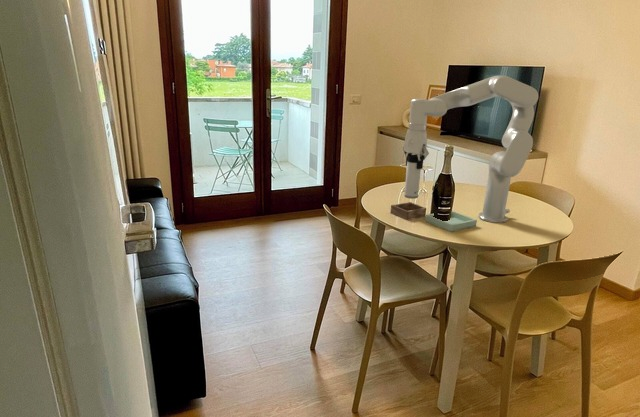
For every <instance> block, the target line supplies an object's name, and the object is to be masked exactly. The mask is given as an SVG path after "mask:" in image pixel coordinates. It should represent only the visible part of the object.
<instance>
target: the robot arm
mask: <svg viewBox="0 0 640 417" xmlns="http://www.w3.org/2000/svg"><path fill="white" fill-rule="evenodd" d="M496 97H498V98H499V97H500V98H501V99H503V100H506V101H507V102H509V104H510V106H511V108H512V114H511V118H510V121H509V123H508V125H507V127H506V130H505V132H504V133H503V135H502V138H501V144H502V146H503V148H505V149H506V150H505V151H504V150H503V151H502V150H500V151H497V152H494V153H492V155H491V156H490V158H489V162H488V176H487V177H488V178H487V184H486V190H485V195H484V200H483V202H484V203H483V208H482V212H479V213H478V218H479V219H480V220H482V221H485V222H489V223H495V224H496V223H497V224H502V223H507V221H508V217H507V216H506V214H509V213H510V212H511V210H510V208H507V202H508V198H509V190H510V186H511V178H513V177H515V176H517V175H519V174H520V172H521V170H522V169H523V168H524V165H525V163H526V162H527V159H528V158H529V155H530V153H531V151H532V148H533V147H534V146H533V145H534V138H533V136H532V135H531V134H530V133H529V130H530V127H531V126H532V123H533V120H534V115H535V109H534V106H535V105H536V104H537V102H538V100H539V93H538V90H536V88H534V87H533V86H530V85H528V84H526V83H523V82H522V81H519V80H517V79H514V78H512V77H510V76H507V75H492V76H490V77H487V78H484V79H482V80H480V81H476V82H474V83H471V84H467V85H465V86H463V87H460V88H456V89H454V90H451V91H447V92H445V93H441V94H439V95H436V96H433V97H431V98H429V99H427V98H413V99H411V100H410V109H409V117H408V118H409V120H408V121H409V122H408V129H407V130H406V134H405V137H404V138H405V139H404V144H403V147H402V151H403V152H404V155H405V167H407V160H408V156H409V155H414V154H417V156H418V160H417V169H421V170H422V169H423V168H424V166H423V164H424V161H425V160H426V158H427V157H428V155H429V154H430V153H429V151H428V148H427V145H428V135H427V122H428V116H430V117H434V118H440V117H443V116H445V115H446V114H447V111H448V110H450V109H454V108H461V107H470V106H473V105H476V104H479V103H482V102H484V101H487V100H490V99H492V98H496ZM420 155H421V156H420Z"/></svg>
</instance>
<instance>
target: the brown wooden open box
mask: <svg viewBox="0 0 640 417" xmlns="http://www.w3.org/2000/svg"><path fill="white" fill-rule="evenodd" d="M390 214H392V215H393V216H396V217H397V218H401V219H403V220H405V221H409V220H413V219H420V218H424V217H425V218H426V215H427V207H424V206H421V205H419V204H416V203H414V202H411V201H407V202H401V203H396V204H392V205H390Z"/></svg>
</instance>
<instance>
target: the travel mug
mask: <svg viewBox="0 0 640 417" xmlns="http://www.w3.org/2000/svg"><path fill="white" fill-rule="evenodd" d="M420 156H421V155H420ZM417 160H418V156H417V154H412V155H409V156H408V160H407V166H406V172H405V181H404V182H405V186H404V196H403V197H405V198H406V199H412V200H414V199H417V198H419V190H420V182H421V181H420V180H421V171H422V169H417Z"/></svg>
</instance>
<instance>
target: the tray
mask: <svg viewBox="0 0 640 417" xmlns="http://www.w3.org/2000/svg"><path fill="white" fill-rule="evenodd" d="M433 216H434V213H431V214H426V216H425V222H426V223H429V224H431V225H434V226H436V227H438V228H441V229H443V230H445V231H447V232H449V233H454V232H457V231H462V230H465V229H470V228H474V227H476V226H477V222H478V221H477V219H475V218H474V217H470V216H467V215H464V214H463V213H460V212H456V211H455V210H452V212H451V218H450V220H448V221H442V220H440V219H437V218H435V217H433Z"/></svg>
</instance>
